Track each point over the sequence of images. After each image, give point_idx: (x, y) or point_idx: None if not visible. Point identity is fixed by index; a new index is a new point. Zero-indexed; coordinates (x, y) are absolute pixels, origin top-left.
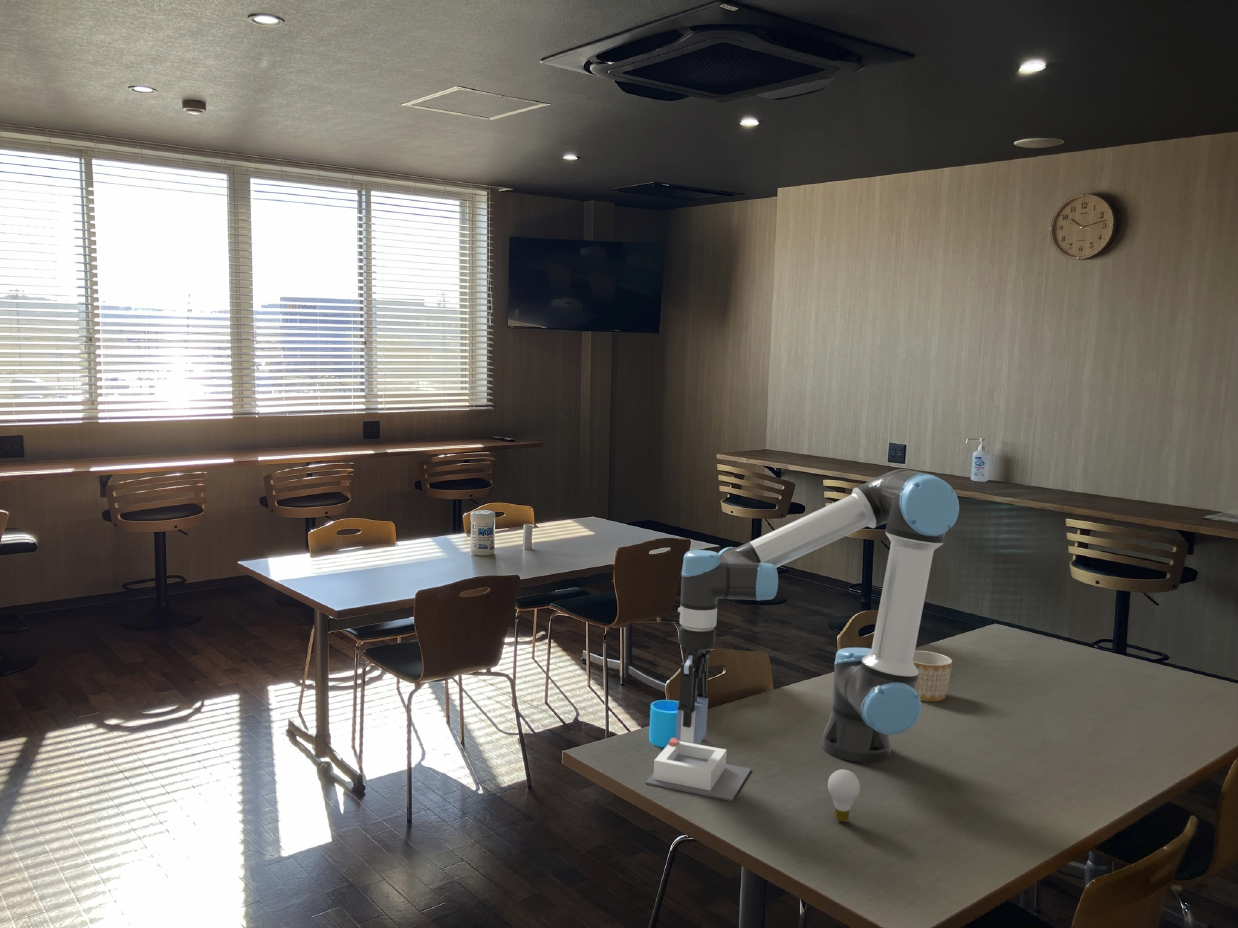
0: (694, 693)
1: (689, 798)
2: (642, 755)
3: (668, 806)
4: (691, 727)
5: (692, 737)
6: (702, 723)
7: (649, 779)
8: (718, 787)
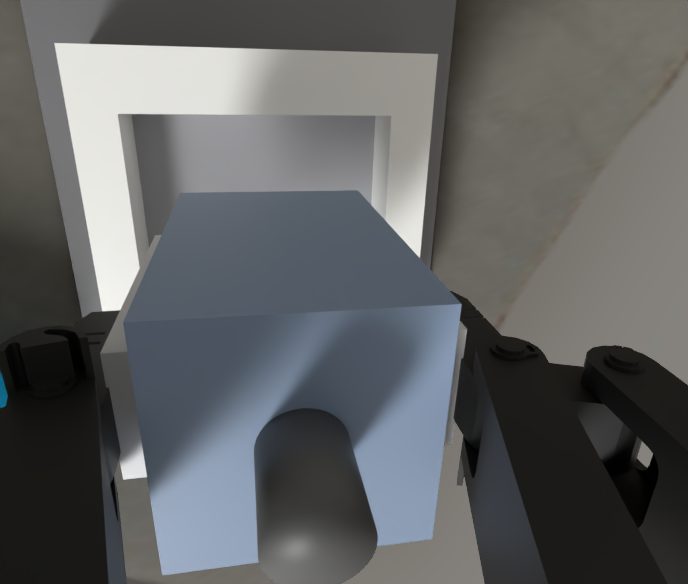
0: (610, 485)
1: (490, 128)
2: None
3: (580, 185)
4: None
5: None
6: (316, 228)
7: None
8: (354, 20)
